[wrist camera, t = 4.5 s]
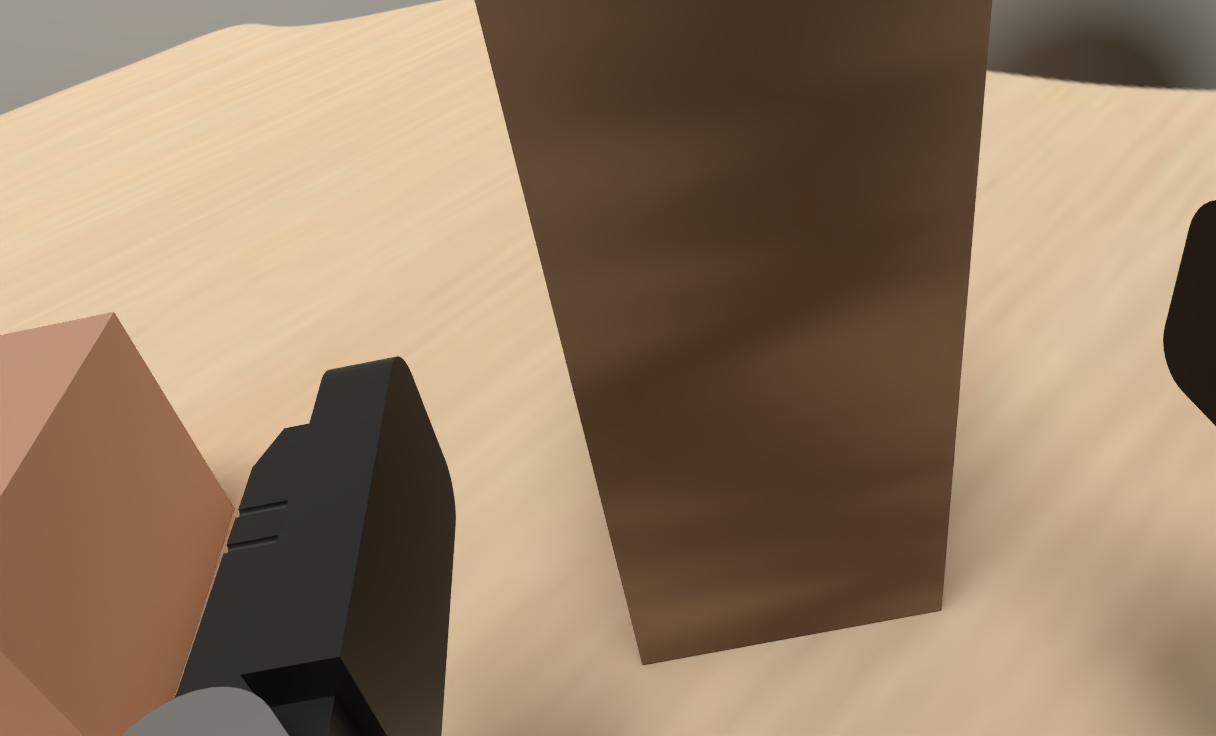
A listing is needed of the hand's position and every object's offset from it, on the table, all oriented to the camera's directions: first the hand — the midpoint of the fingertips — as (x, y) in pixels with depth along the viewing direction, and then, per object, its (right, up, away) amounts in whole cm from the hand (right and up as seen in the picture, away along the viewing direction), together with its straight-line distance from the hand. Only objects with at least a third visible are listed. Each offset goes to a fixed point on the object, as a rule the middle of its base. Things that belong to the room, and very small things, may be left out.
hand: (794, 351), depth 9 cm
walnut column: (+1, -3, +6) cm, 7 cm away
